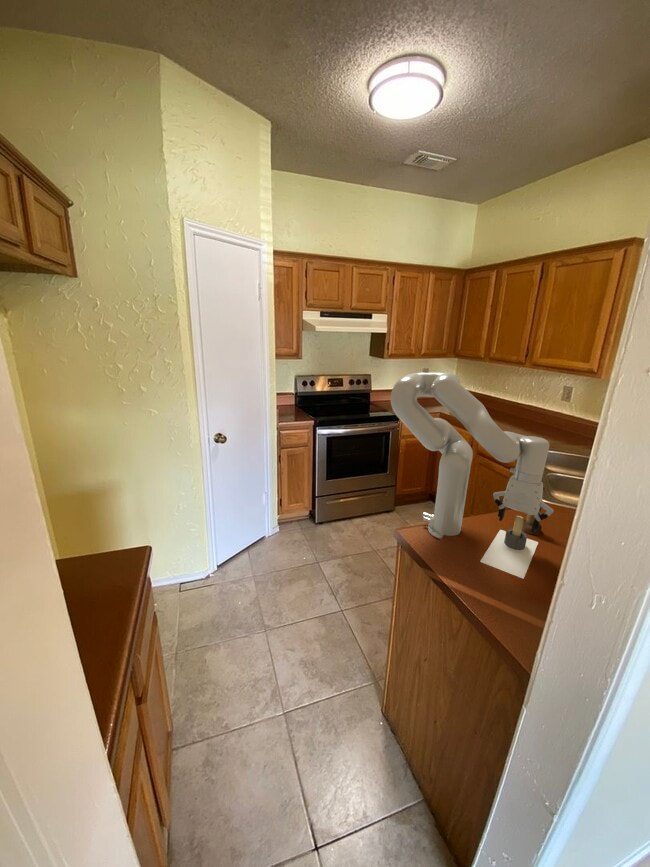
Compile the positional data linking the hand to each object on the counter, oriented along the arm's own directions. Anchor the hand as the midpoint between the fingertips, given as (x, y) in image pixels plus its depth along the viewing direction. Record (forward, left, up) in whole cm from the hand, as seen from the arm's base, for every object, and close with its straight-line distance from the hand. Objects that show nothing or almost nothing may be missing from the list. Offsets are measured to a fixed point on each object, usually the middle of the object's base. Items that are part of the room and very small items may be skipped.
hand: (517, 524), depth 117 cm
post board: (0, -5, -9) cm, 10 cm away
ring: (0, 0, -7) cm, 7 cm away
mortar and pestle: (+2, +17, -9) cm, 19 cm away
